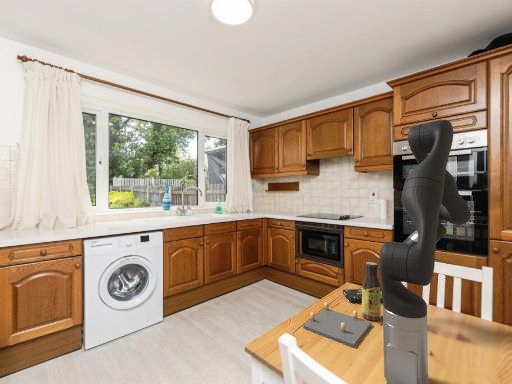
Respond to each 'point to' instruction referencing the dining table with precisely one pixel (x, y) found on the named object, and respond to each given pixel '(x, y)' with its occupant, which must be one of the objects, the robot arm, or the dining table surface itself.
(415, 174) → the robot arm
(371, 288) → the sauce bottle
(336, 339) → the standoff mount
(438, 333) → the dining table surface
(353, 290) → the disk drive
